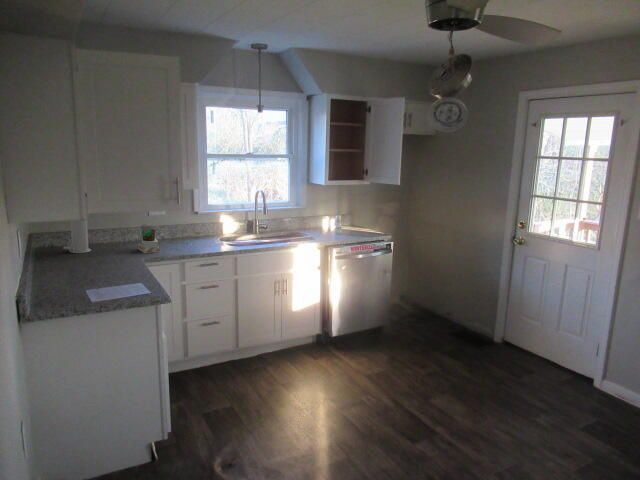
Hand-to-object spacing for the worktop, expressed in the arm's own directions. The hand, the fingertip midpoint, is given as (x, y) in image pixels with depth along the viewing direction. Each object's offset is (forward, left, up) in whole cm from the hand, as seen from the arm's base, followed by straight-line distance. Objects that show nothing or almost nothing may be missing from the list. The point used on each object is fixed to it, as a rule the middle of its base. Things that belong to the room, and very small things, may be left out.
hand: (119, 202), depth 325 cm
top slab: (+12, -24, -27) cm, 38 cm away
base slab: (+11, -24, -31) cm, 41 cm away
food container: (+9, -24, -23) cm, 35 cm away
